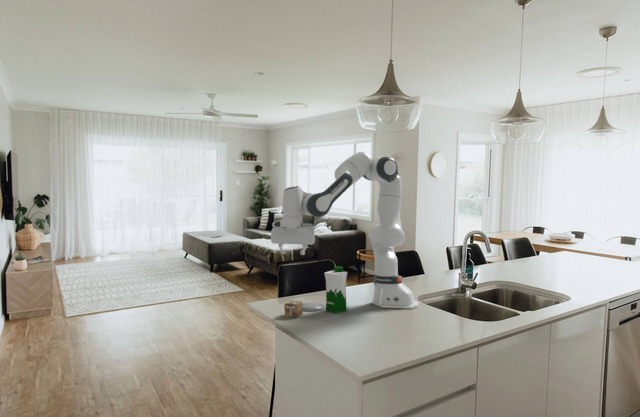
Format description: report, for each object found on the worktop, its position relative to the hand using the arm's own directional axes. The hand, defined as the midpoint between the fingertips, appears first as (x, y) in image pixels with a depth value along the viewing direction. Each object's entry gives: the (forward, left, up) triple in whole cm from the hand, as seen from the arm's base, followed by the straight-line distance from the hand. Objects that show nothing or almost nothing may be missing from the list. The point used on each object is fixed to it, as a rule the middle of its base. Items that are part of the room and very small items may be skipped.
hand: (292, 254), depth 185 cm
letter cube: (0, 0, -28) cm, 28 cm away
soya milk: (-15, -14, -28) cm, 34 cm away
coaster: (-2, -15, -27) cm, 31 cm away
